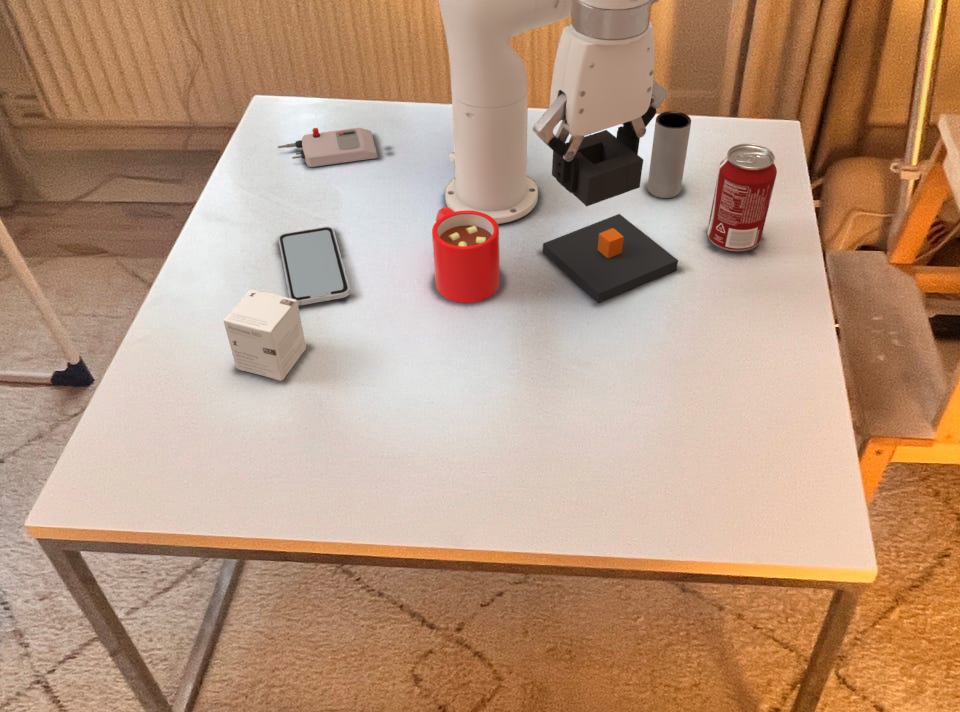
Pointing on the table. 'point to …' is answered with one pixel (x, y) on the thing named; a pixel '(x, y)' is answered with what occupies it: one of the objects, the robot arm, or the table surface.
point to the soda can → (742, 197)
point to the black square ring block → (604, 168)
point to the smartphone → (313, 266)
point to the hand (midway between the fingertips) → (595, 175)
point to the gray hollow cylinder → (668, 154)
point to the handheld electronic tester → (335, 146)
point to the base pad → (609, 257)
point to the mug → (466, 255)
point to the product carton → (265, 334)
